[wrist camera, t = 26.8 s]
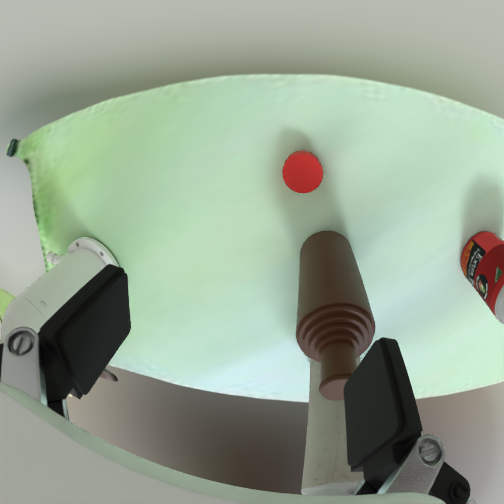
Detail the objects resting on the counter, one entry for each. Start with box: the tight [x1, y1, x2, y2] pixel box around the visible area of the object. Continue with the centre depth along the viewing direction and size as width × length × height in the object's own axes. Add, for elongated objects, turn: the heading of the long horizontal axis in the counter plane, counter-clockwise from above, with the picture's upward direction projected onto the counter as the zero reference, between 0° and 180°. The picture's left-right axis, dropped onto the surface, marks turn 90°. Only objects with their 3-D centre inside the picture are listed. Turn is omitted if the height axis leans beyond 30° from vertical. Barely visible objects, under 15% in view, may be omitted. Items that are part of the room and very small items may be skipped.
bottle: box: [296, 231, 375, 401], centre depth 24 cm, size 6×6×20 cm
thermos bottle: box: [301, 356, 364, 496], centre depth 27 cm, size 8×8×28 cm
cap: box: [282, 150, 323, 193], centre depth 27 cm, size 4×4×4 cm
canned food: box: [461, 231, 504, 324], centre depth 23 cm, size 8×8×11 cm
